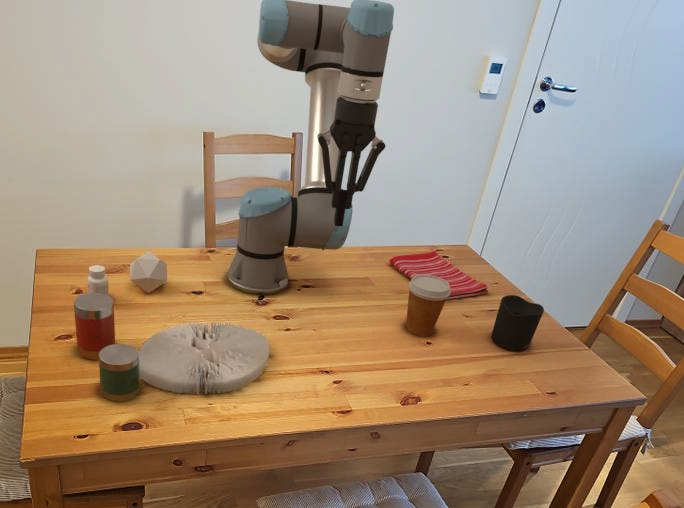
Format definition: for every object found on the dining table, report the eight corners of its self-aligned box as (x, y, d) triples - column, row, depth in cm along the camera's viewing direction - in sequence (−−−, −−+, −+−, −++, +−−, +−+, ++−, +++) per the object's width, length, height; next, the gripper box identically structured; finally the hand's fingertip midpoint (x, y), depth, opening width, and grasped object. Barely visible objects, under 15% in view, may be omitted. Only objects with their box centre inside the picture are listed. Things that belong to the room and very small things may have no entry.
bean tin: (105, 378, 120) (103, 342, 115) (142, 381, 120) (141, 345, 116) (97, 400, 114) (94, 363, 110) (136, 403, 114) (135, 366, 110)
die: (174, 294, 152) (174, 252, 153) (152, 288, 144) (151, 244, 145) (145, 297, 156) (145, 256, 156) (121, 291, 147) (121, 249, 148)
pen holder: (499, 353, 144) (512, 314, 139) (482, 331, 152) (494, 294, 146) (537, 353, 146) (551, 315, 140) (518, 332, 154) (531, 295, 148)
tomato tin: (82, 339, 130) (78, 290, 124) (118, 341, 131) (116, 294, 125) (73, 358, 124) (69, 308, 118) (111, 361, 125) (109, 312, 119)
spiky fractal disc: (117, 348, 128) (116, 336, 127) (237, 322, 143) (238, 311, 141) (163, 410, 113) (163, 398, 112) (293, 374, 128) (295, 362, 126)
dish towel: (434, 258, 187) (436, 249, 186) (488, 294, 170) (491, 285, 169) (386, 264, 180) (388, 255, 178) (438, 302, 163) (441, 293, 161)
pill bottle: (112, 297, 146) (111, 266, 142) (101, 305, 142) (100, 274, 138) (95, 293, 147) (94, 262, 143) (84, 301, 143) (82, 269, 139)
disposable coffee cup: (439, 343, 145) (452, 296, 139) (397, 334, 146) (408, 287, 140) (439, 323, 153) (451, 278, 146) (399, 315, 154) (410, 270, 148)
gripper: (323, 99, 111) (306, 227, 124) (397, 107, 112) (372, 233, 125) (320, 90, 117) (304, 213, 130) (390, 98, 118) (367, 219, 131)
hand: (338, 223), depth 127 cm, fingers closed
